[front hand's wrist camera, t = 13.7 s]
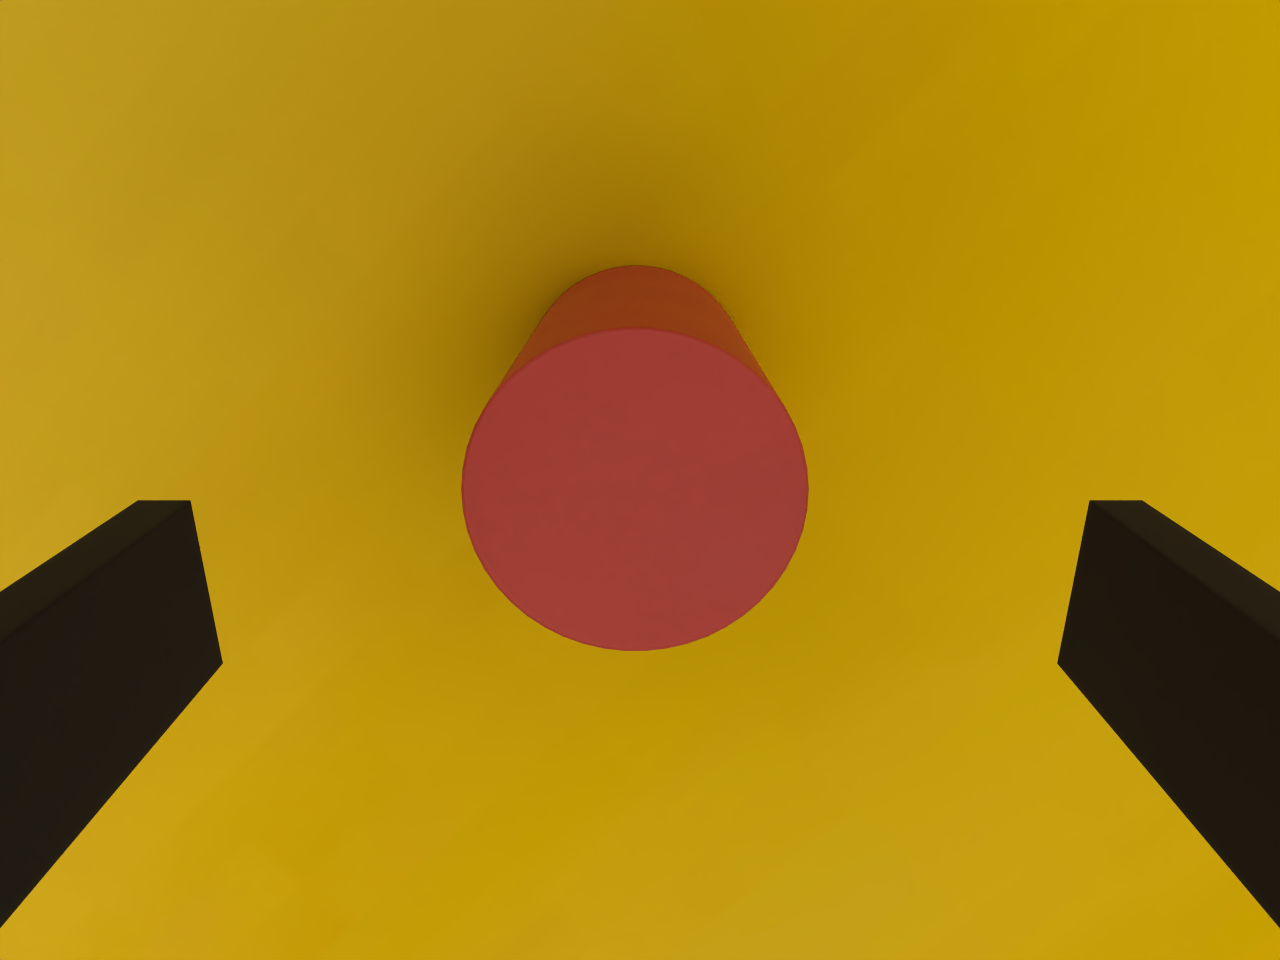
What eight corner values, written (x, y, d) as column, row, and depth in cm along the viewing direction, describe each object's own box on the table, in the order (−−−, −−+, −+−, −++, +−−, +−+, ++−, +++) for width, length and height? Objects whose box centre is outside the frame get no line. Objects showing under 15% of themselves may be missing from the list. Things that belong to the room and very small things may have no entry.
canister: (627, 517, 27) (621, 708, 18) (483, 366, 26) (388, 486, 16) (788, 385, 26) (878, 516, 16) (646, 216, 24) (652, 247, 14)
